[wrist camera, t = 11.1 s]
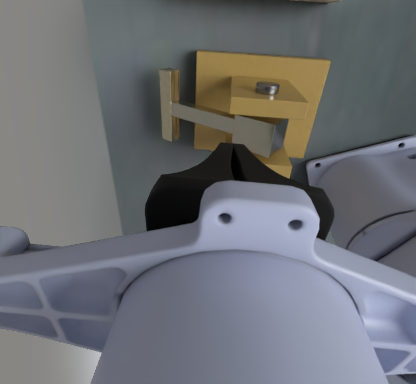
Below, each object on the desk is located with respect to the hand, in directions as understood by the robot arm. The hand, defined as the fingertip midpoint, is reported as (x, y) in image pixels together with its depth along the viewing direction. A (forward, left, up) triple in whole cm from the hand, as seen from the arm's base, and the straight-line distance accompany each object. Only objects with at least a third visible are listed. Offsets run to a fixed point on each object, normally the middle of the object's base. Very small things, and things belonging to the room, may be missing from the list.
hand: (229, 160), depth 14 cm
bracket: (-2, +1, -10) cm, 11 cm away
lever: (0, 0, -7) cm, 7 cm away
